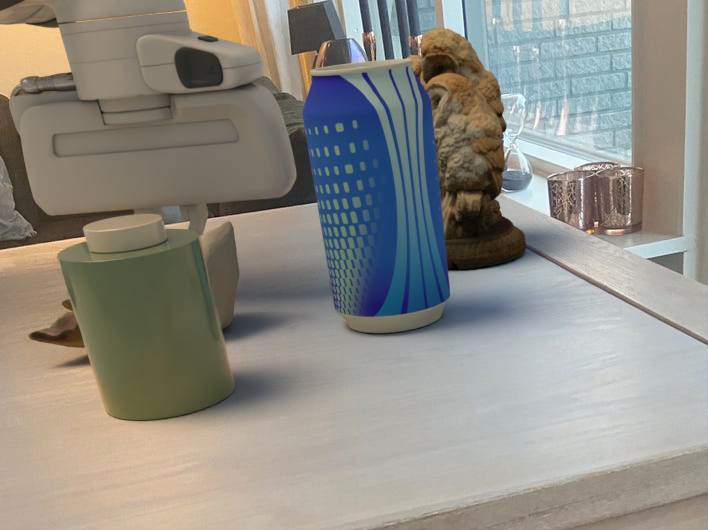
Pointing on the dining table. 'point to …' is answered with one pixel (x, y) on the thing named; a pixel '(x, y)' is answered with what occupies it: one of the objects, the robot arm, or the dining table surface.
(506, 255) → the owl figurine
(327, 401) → the dining table surface
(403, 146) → the beer can
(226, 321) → the ceramic sculpture
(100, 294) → the green lidded jar
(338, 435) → the dining table surface
